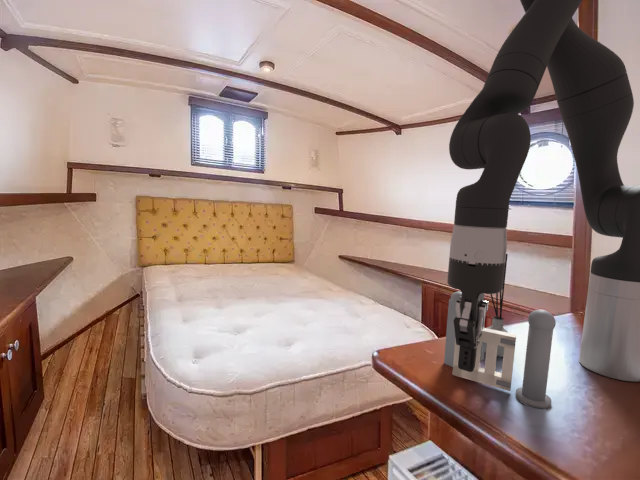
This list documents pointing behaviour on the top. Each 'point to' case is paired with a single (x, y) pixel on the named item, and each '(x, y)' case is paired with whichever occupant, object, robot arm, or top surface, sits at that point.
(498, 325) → the reed diffuser
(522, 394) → the hinge post
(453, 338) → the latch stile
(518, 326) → the top surface
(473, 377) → the gate
